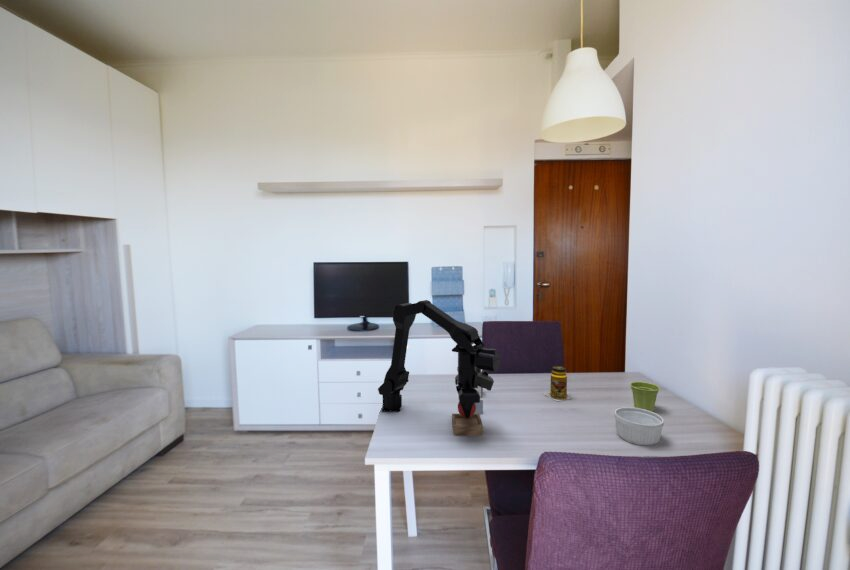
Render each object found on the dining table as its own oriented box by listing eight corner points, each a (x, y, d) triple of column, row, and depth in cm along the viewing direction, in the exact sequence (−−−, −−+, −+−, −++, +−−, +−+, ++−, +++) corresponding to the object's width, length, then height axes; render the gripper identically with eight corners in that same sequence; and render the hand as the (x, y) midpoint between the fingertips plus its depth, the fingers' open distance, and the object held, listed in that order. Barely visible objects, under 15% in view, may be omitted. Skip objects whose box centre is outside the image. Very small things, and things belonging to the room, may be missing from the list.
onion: (464, 423, 118) (464, 398, 117) (454, 416, 123) (454, 392, 122) (479, 419, 120) (479, 395, 120) (469, 413, 126) (469, 389, 125)
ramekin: (674, 445, 111) (675, 422, 110) (635, 450, 108) (636, 427, 107) (639, 425, 124) (640, 405, 123) (604, 429, 121) (604, 408, 120)
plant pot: (627, 402, 143) (627, 380, 142) (655, 405, 139) (656, 383, 139) (631, 412, 134) (632, 388, 133) (662, 416, 131) (663, 391, 130)
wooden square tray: (453, 437, 118) (453, 425, 117) (452, 424, 126) (452, 413, 126) (482, 436, 117) (482, 425, 117) (478, 424, 126) (478, 413, 126)
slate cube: (469, 415, 133) (469, 401, 132) (464, 409, 138) (464, 396, 137) (482, 413, 134) (482, 399, 134) (477, 408, 139) (477, 394, 139)
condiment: (557, 401, 144) (558, 371, 143) (542, 394, 152) (543, 365, 151) (572, 398, 147) (572, 368, 146) (556, 391, 155) (557, 363, 154)
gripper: (497, 375, 111) (496, 426, 112) (487, 358, 130) (486, 402, 131) (459, 375, 111) (459, 426, 112) (455, 358, 130) (454, 402, 131)
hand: (466, 413), depth 122 cm, fingers closed on onion, 6 cm apart
